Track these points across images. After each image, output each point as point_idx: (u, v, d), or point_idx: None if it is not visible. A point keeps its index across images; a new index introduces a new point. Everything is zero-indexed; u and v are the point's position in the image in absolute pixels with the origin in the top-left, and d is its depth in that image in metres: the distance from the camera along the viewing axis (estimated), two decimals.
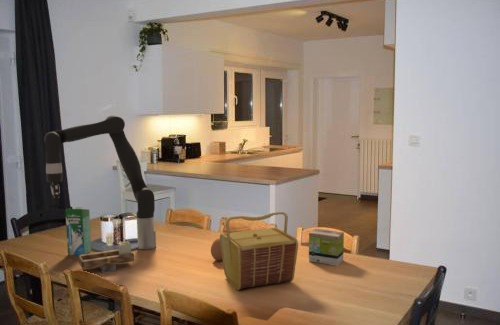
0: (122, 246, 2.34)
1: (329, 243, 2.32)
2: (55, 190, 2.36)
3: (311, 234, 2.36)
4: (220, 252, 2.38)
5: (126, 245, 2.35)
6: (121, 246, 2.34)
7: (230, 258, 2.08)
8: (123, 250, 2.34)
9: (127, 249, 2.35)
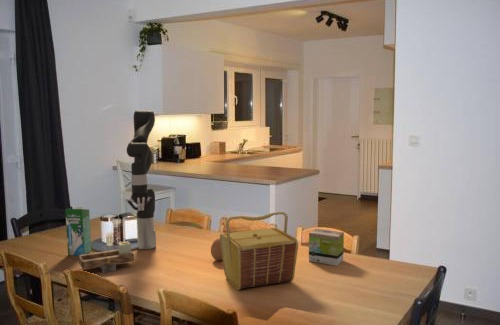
0: (122, 246, 2.34)
1: (330, 243, 2.32)
2: None
3: (311, 234, 2.36)
4: (220, 252, 2.38)
5: (126, 245, 2.35)
6: (121, 246, 2.34)
7: (230, 258, 2.08)
8: (123, 250, 2.34)
9: (127, 249, 2.35)
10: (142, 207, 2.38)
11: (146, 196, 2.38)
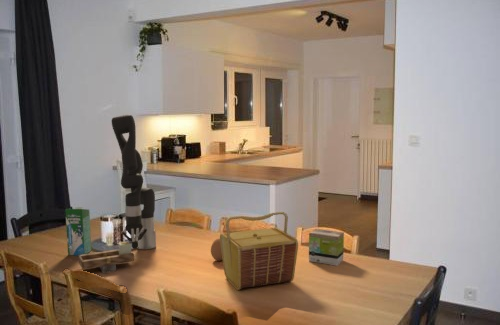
0: (122, 246, 2.34)
1: (330, 243, 2.32)
2: None
3: (311, 234, 2.36)
4: (220, 252, 2.38)
5: (126, 245, 2.35)
6: (121, 246, 2.34)
7: (230, 258, 2.08)
8: (123, 250, 2.34)
9: (127, 249, 2.35)
10: (136, 238, 2.38)
11: (140, 227, 2.38)
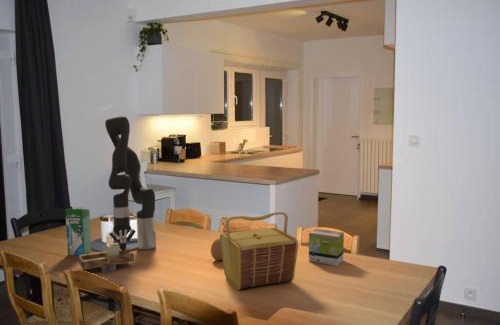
0: (110, 248, 2.31)
1: (330, 243, 2.32)
2: None
3: (311, 234, 2.36)
4: (220, 252, 2.38)
5: (114, 247, 2.32)
6: (109, 248, 2.31)
7: (230, 258, 2.08)
8: (111, 252, 2.32)
9: (115, 251, 2.33)
10: (124, 239, 2.35)
11: (128, 228, 2.36)
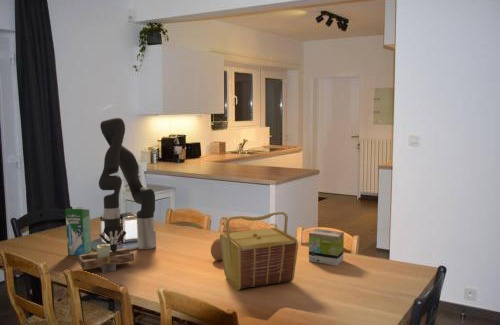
0: (100, 249, 2.29)
1: (329, 243, 2.32)
2: None
3: (311, 234, 2.36)
4: (220, 252, 2.38)
5: (104, 248, 2.30)
6: (99, 249, 2.29)
7: (230, 258, 2.08)
8: (101, 253, 2.30)
9: (105, 252, 2.31)
10: (115, 241, 2.33)
11: (119, 229, 2.34)
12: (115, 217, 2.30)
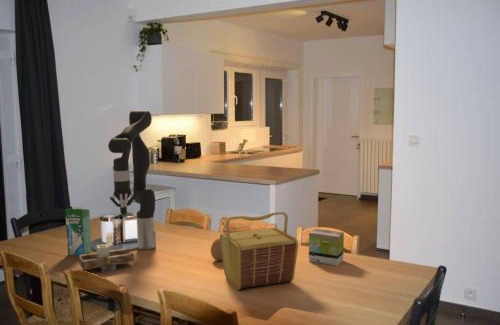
0: (100, 249, 2.29)
1: (329, 243, 2.32)
2: None
3: (311, 234, 2.36)
4: (220, 252, 2.38)
5: (104, 248, 2.30)
6: (99, 249, 2.29)
7: (230, 258, 2.08)
8: (101, 253, 2.30)
9: (105, 252, 2.31)
10: (125, 204, 2.35)
11: (129, 192, 2.35)
12: (125, 180, 2.31)
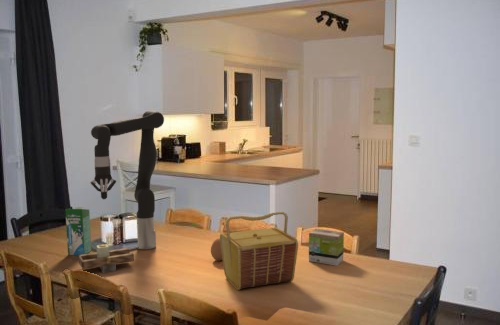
0: (100, 249, 2.29)
1: (330, 243, 2.32)
2: None
3: (311, 234, 2.36)
4: (220, 252, 2.38)
5: (104, 248, 2.30)
6: (99, 249, 2.29)
7: (230, 258, 2.08)
8: (101, 253, 2.30)
9: (105, 252, 2.31)
10: (105, 188, 2.44)
11: (109, 178, 2.44)
12: (105, 165, 2.40)
